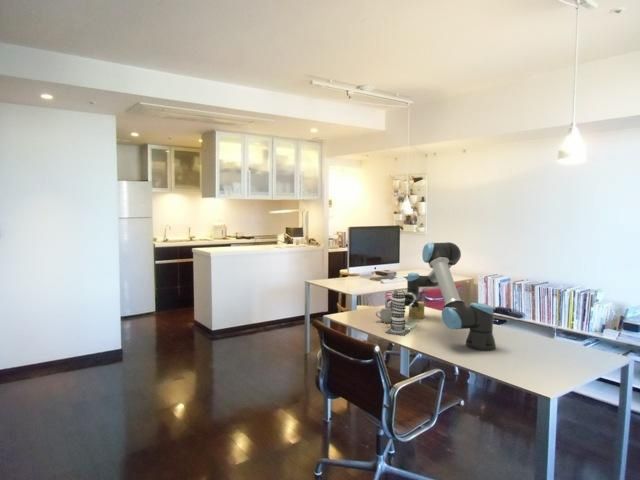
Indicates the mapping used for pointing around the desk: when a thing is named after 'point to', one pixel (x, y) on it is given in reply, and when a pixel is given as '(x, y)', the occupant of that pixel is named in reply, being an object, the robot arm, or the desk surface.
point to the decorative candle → (398, 311)
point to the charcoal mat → (397, 333)
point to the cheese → (417, 311)
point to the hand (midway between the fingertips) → (398, 306)
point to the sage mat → (410, 325)
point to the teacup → (385, 315)
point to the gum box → (387, 298)
